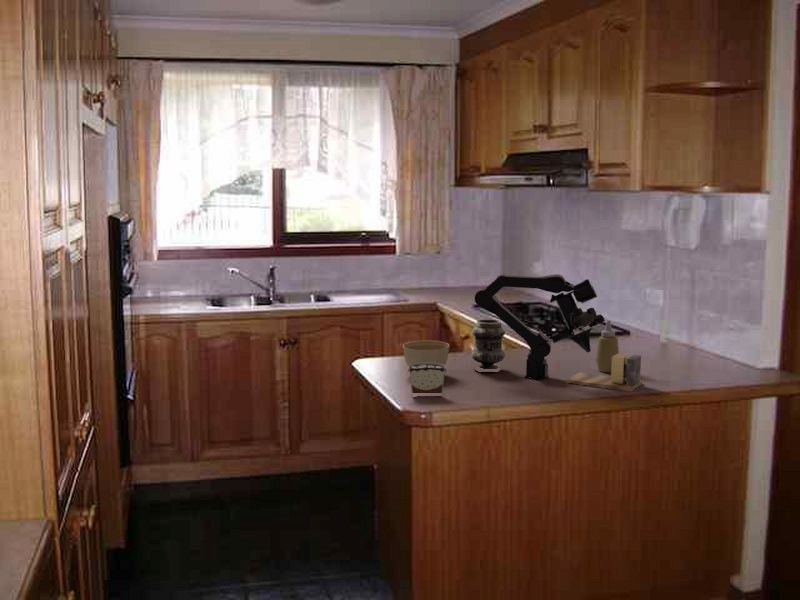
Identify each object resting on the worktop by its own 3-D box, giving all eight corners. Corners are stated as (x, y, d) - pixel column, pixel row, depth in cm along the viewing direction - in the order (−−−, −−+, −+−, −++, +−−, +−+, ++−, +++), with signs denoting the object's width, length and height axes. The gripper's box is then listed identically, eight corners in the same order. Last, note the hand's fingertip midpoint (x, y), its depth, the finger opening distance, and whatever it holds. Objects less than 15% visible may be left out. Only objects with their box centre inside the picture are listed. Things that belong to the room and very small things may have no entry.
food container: (445, 391, 279) (445, 361, 278) (446, 396, 273) (446, 365, 272) (406, 392, 279) (406, 362, 277) (407, 397, 273) (407, 366, 271)
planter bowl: (397, 372, 306) (396, 342, 305) (439, 368, 311) (439, 339, 310) (411, 382, 291) (411, 351, 290) (456, 379, 296) (456, 347, 294)
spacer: (610, 382, 284) (611, 356, 282) (616, 378, 289) (617, 353, 287) (622, 384, 282) (623, 358, 280) (628, 380, 287) (629, 354, 285)
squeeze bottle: (602, 374, 301) (603, 323, 298) (591, 369, 309) (592, 319, 306) (623, 372, 303) (624, 322, 300) (611, 367, 311) (613, 318, 308)
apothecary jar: (503, 374, 301) (503, 324, 299) (469, 373, 304) (469, 323, 301) (506, 367, 313) (506, 318, 310) (473, 365, 316) (473, 317, 313)
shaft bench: (566, 383, 289) (566, 353, 287) (578, 375, 299) (579, 347, 297) (631, 391, 277) (632, 361, 276) (642, 383, 287) (643, 354, 286)
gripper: (558, 312, 280) (578, 356, 278) (603, 294, 287) (623, 337, 285) (542, 320, 291) (562, 363, 289) (586, 302, 298) (606, 344, 296)
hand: (589, 351), depth 289 cm, fingers closed
